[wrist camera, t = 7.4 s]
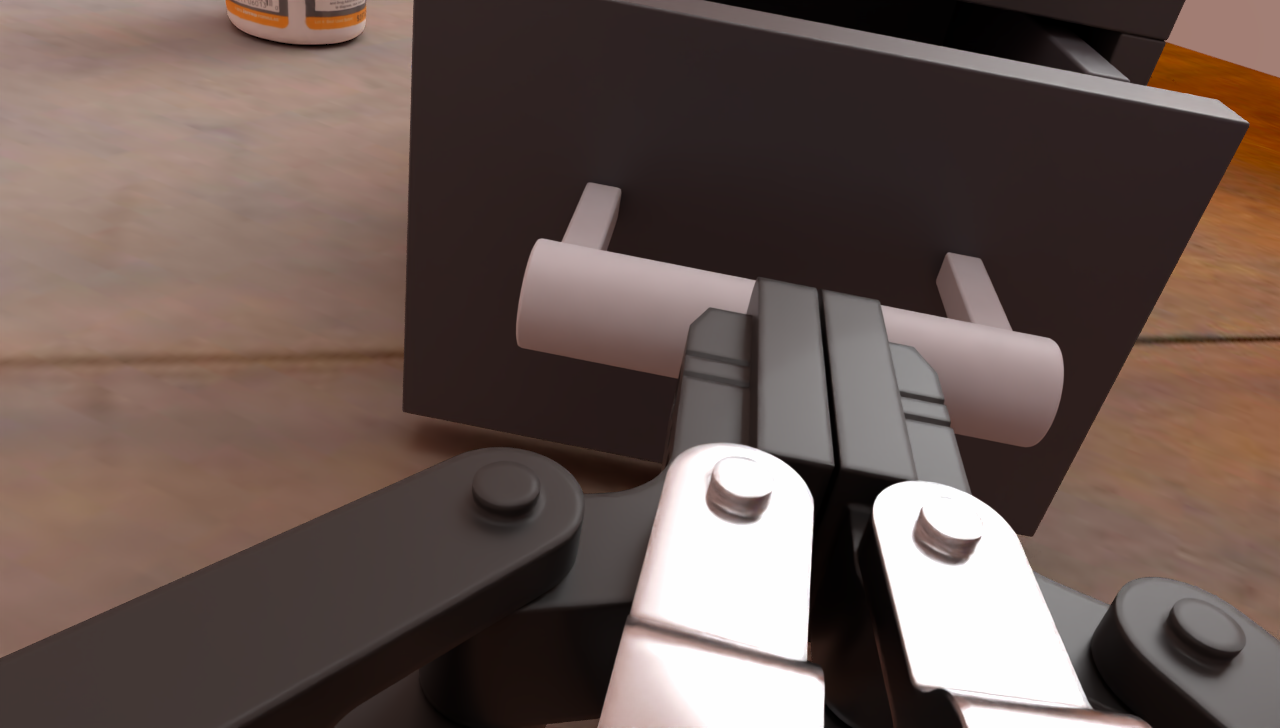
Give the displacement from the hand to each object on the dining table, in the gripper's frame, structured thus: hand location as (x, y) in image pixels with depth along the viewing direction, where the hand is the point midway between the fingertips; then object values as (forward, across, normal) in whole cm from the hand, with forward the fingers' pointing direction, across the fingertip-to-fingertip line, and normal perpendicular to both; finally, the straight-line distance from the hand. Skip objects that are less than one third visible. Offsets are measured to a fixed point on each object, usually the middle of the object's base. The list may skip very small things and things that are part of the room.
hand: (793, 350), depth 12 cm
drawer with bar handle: (+9, 0, +6) cm, 11 cm away
